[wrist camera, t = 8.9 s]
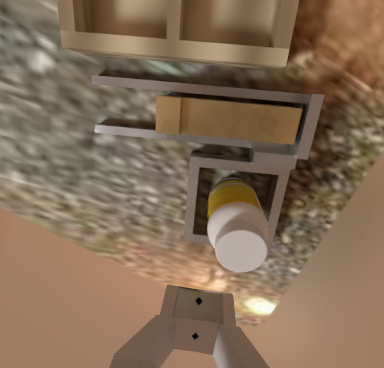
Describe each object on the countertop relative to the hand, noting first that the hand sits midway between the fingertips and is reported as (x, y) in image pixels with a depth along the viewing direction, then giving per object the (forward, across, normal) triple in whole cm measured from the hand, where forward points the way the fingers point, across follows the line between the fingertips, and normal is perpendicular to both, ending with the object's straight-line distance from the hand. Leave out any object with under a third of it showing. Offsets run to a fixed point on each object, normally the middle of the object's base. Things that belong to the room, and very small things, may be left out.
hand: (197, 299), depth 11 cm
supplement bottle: (+17, -3, +2) cm, 18 cm away
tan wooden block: (+17, -1, -7) cm, 18 cm away
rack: (+17, +4, -16) cm, 23 cm away
